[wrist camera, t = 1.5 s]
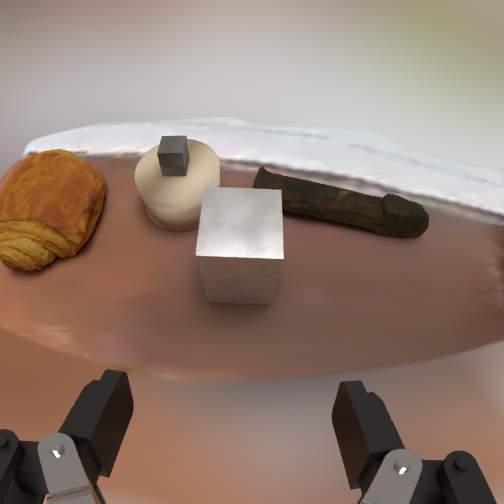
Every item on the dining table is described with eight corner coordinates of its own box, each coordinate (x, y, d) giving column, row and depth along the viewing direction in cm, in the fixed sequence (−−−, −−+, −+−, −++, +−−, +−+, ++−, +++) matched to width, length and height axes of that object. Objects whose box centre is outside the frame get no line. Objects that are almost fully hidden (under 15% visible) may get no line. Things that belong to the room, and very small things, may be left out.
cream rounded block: (236, 194, 33) (237, 137, 26) (184, 246, 30) (170, 195, 23) (182, 161, 35) (173, 106, 28) (131, 206, 32) (109, 153, 25)
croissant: (2, 267, 30) (-40, 244, 23) (47, 161, 35) (18, 126, 28) (85, 297, 29) (40, 275, 21) (132, 167, 34) (107, 122, 27)
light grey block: (269, 250, 30) (281, 190, 22) (270, 304, 28) (283, 258, 20) (212, 247, 30) (204, 186, 22) (208, 302, 27) (195, 255, 19)
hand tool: (247, 214, 32) (249, 185, 28) (257, 185, 34) (259, 155, 30) (418, 258, 31) (440, 237, 27) (417, 228, 33) (436, 205, 28)
